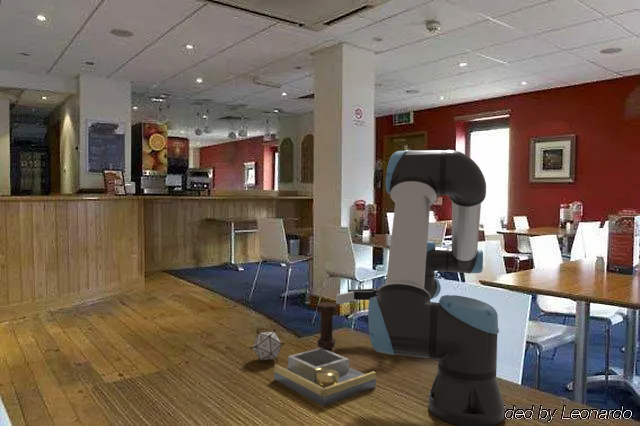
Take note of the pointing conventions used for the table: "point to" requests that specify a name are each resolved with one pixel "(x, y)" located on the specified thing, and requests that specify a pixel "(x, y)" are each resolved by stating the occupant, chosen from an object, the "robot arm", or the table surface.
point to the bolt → (326, 325)
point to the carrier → (323, 376)
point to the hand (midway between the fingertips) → (353, 304)
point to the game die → (267, 345)
